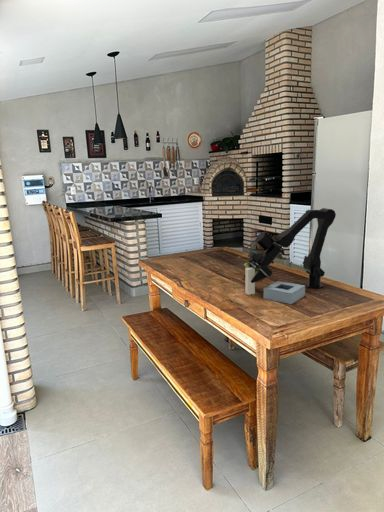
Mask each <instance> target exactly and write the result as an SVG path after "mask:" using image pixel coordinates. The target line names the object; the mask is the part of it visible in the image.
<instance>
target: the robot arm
mask: <svg viewBox="0 0 384 512" xmlns="http://www.w3.org/2000/svg"><path fill="white" fill-rule="evenodd" d="M336 216H337V214H336V211H335V210H334V209H332V208H327V207H322V208H320V209H307V210H306V211H305V212H304V213H303V214H302V215H301V216H300V217H299V218H298V219H297V220H296V221H295V222H294V223H293V224H292V225H291V226H290V227H289V228H287V229H285V230H284V231H282V232H280V233H279V234H277V235H276V236H273V237H272V236H270V234H269V233H268V231H264V232H262V233H260V234H259V235H258V236H256V238H255V239H254V242H255V243H256V244H257V245H258V246H259V247H260V248H261V249H262V250H265V251H264V252H259V251H257V252H255V251H253V250H250V251H249V253H248V255H247V257H248V259H247V263H248V268H250V267H253V268H254V269H255V272H256V271H257V273H256V274H255V276H254V277H253V279H252V280H251V283H254V282H255V283H256V282H258V281H261V280H263V279H266V278H268V277H269V278H271V276H272V275H273V271H272V269H270V268H269V266H270V265H271V264H274V263H275V262H274V261H275V259H276V258H277V257H278V256H279V255H283V256H285V249H284V248H289V247H290V246H291V244H292V243H293V242H294V240H295V238H296V236H297V235H298V234H299V233H300V232H301V231H303V229H304V228H305V227H306V226H307V225H308V224H309V223H311V222H312V221H313V220H314V219H316V221H317V228H316V231H315V235H314V239H313V242H312V245H311V249H310V253H309V254H307V255H304V257H303V260H302V261H303V262H302V268H303V269H304V271H305V273H306V274H308V284H307V285H305V288H311V289H316V290H317V289H318V290H319V289H321V288H322V287H324V284H321V282H322V279H321V278H322V277H324V276H325V273H326V272H325V271H324V270H323V269H322V267H321V265H322V264H321V263H322V261H321V254H322V251H323V246H324V244H325V240H326V236H327V233H328V230H329V228H330V227H331V225H333V223H334V221H335V218H336ZM275 244H276V245H275ZM281 247H282V248H281ZM243 278H245V274H244V275H243Z"/></svg>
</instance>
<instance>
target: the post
mask: <svg viewBox="0 0 384 512" xmlns="http://www.w3.org/2000/svg"><path fill="white" fill-rule="evenodd" d="M244 270H245V271H244V272H245V273H244V275H245V277H244V279H245V282H244V283H245V285H244V288H245V290H244V291H245V294H246V295H247V294H248V296H251V294H252V295H256V282H254V283H251V280H252V279H253V277H254V276H255V269H254V268H253V267H250V268H245V267H244Z"/></svg>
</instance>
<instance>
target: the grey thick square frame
mask: <svg viewBox="0 0 384 512" xmlns="http://www.w3.org/2000/svg"><path fill="white" fill-rule="evenodd" d="M304 297H306V285H303V284H297V283H292V282H287V281H280V280H277V281H275V282H272V283H271V284H269V285H267V286H264V287H263V299H264V300H269V301H275V302H278V303H284V304H288V305H292V304H294V303H297V302H298V301H299V300H301V299H302V298H304Z"/></svg>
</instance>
